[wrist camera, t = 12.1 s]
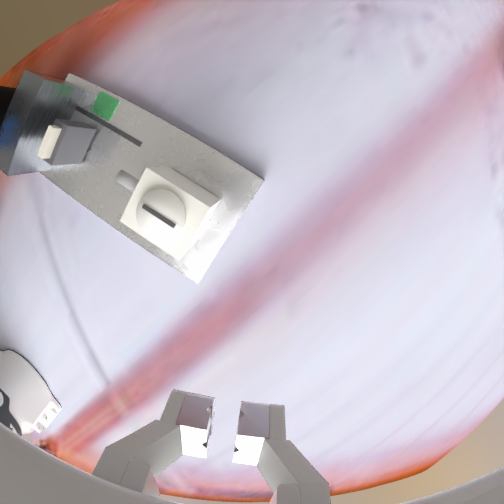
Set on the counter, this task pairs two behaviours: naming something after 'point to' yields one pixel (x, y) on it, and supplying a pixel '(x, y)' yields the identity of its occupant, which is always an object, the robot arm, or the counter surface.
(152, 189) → the gauge body
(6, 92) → the black water bottle
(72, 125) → the block
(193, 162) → the base
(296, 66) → the counter surface
